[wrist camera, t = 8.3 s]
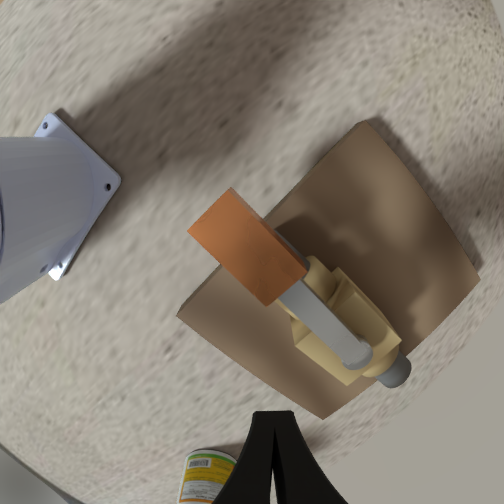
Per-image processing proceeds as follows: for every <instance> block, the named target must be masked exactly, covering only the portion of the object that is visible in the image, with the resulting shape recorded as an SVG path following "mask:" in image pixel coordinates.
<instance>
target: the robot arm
mask: <svg viewBox="0 0 504 504" xmlns="http://www.w3.org/2000/svg"><path fill="white" fill-rule="evenodd" d="M47 123H48V127H47V128H46V124H47ZM108 183H109V184H110V185H111V190H110V191H109V190H108V189H107V184H108ZM120 184H121V177H120V176H119V174H118V173H117V172H115V171H114V170H113V169H112V168H111V167H110V166H109V165H108V164H107V163H106V162H105V161H104V160H103V159H102V158H101V157H100V156H98V155H97V154H96V153H95V152H94V151H93V150H92V149H91V148H90V147H89V146H88V145H87V144H86V143H85V142H84V141H83V140H82V139H81V138H80V137H79V136H78V135H76V134H75V133H74V132H73V131H72V130H71V129H70V128H69V127H68V126H67V125H66V124H65V123H64V122H63V121H62V120H61V119H60V118H59V117H58V116H57V115H56V114H55V113H48V114H47V115H46V116H45V118H44V120H43V121H42V123H41V125H40V126H39V128H38V130H37V132H36V133H35V135H34V137H0V304H2V303H4V302H5V301H7V300H8V299H10V298H11V297H13V296H14V295H15V294H17V293H18V292H20V291H21V290H23V289H24V288H26V287H27V286H29V285H30V284H32V283H33V282H35V281H36V280H38V279H39V278H41V277H42V276H44V275H46V274H47V273H48V274H49V275H50V276H51V277H52V278H53V279H54V280H59V279H61V278H62V276H63V274H64V273H65V271H66V269H67V267H68V265H69V264H70V262H71V260H72V258H73V257H74V255H75V253H76V252H77V250H78V248H79V247H80V245H81V243H82V242H83V240H84V238H85V237H86V235H87V234H88V232H89V230H90V229H91V227H92V226H93V224H94V223H95V221H96V219H97V218H98V216H99V215H100V213H101V212H102V210H103V209H104V207H105V206H106V204H107V203H108V201H109V200H110V199H111V197H112V196H113V194H114V193H115V191H116V190H117V189H118V187H119V186H120ZM60 262H61V263H62V264H63V266H61V264H60ZM272 469H273V474H274V481H275V489H276V497H277V503H278V504H348V503H347V502H346V501H345V500H344V498H343V497H342V496H341V495H340V494H339V493H338V491H337V490H336V489H335V488H334V486H333V485H332V484H331V483H330V481H329V480H328V479H327V477H326V476H325V474H324V473H323V471H322V470H321V468H320V467H319V465H318V463H317V462H316V460H315V459H314V457H313V455H312V453H311V451H310V450H309V448H308V446H307V444H306V442H305V440H304V438H303V436H302V434H301V432H300V429H299V427H298V424H297V422H296V419H295V416H294V412H292V411H291V410H288V411H256V412H254V413H253V417H252V423H251V427H250V430H249V433H248V436H247V439H246V442H245V444H244V447H243V449H242V452H241V454H240V456H239V458H238V461H237V463H236V464H235V466H234V468H233V470H232V472H231V474H230V476H229V478H228V479H227V481H226V483H225V484H224V486H223V487H222V489H221V491H220V492H219V494H218V495H217V496H216V498H215V499H214V501H213V502H212V503H211V504H270V491H271V480H272Z"/></svg>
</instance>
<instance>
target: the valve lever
mask: <svg viewBox="0 0 504 504" xmlns="http://www.w3.org/2000/svg"><path fill="white" fill-rule="evenodd" d="M187 232H188V233H189V234H190V235H191V236H192V237H194V238H195V239H196V240H197V241H198V242H199V243H200V244H201V245H202V246H203V247H204V248H205V249H206V250H207V251H208V252H209V253H210V254H211V255H212V256H213V257H214V258H215V259H216V260H217V261H218V262H219V263H220V264H221V265H222V266H223V267H224V268H225V269H227V270H228V271H229V272H230V273H231V274H232V275H233V276H234V277H235V278H236V279H237V280H238V281H239V282H240V283H241V284H242V285H243V286H244V287H245V288H246V289H248V290H249V291H250V292H251V293H252V294H253V295H254V296H255V297H256V298H257V299H258V300H259V301H260V302H261V303H262V304H263V305H265V306H266V307H268V306H269V305H270V304H271V303H272V302H274V301H275V300H276V299H277V298H278V299H279V300H280V301H281V302H282V303H283V304H284V305H285V306H286V307H287V308H288V309H289V310H290V311H291V312H292V313H293V314H294V315H296V316H297V317H298V318H299V319H300V320H301V321H302V322H303V323H304V324H305V325H306V326H307V327H308V328H309V329H310V330H311V331H312V332H313V333H314V334H315V335H317V336H318V337H319V338H320V339H321V340H322V341H323V342H324V343H325V344H326V345H327V346H328V347H329V348H330V349H331V350H332V351H333V352H335V353H336V354H337V355H338V356H339V357H340V358H341V361H342V364H343V366H344V367H345V368H347V369H349V370H358V369H361V368H363V367H365V366H366V365H368V364H369V362H370V361H371V360H372V357H373V350H372V348H371V346H370V344H369V343H368V341H367V339H366V338H365V337H364V336H363V335H360V334H355V333H354V332H353V331H352V330H351V329H350V328H349V327H348V325H347V324H346V323H345V322H344V321H343V320H342V319H341V318H340V317H339V316H338V315H337V314H336V313H335V312H334V311H333V310H332V309H331V308H330V307H329V306H328V305H327V304H326V302H325V301H324V300H323V299H322V298H321V297H320V296H319V295H318V294H317V293H316V292H315V291H314V290H313V289H312V288H311V287H310V286H309V285H308V284H307V283H306V282H305V281H304V280H303V279H302V277H303V276H304V275H305V274H306V273H307V269H306V267H305V265H304V262H303V260H302V259H301V258H300V257H299V256H298V255H297V254H296V253H295V252H294V251H293V250H292V249H291V248H290V247H289V246H288V245H287V244H286V243H285V242H284V241H283V239H282V238H281V237H280V236H279V235H278V234H277V233H276V232H275V231H274V230H273V229H272V228H271V227H270V226H269V225H268V224H267V223H266V222H265V221H264V220H263V219H262V218H261V217H260V216H259V215H258V214H257V213H256V212H255V211H254V210H253V209H252V208H251V207H250V206H249V205H248V204H247V203H246V202H245V201H244V200H243V199H242V197H241V196H240V195H239V194H238V193H237V192H236V191H235V190H234V189H233V188H232V187H230V188H229V189H228V190H227V191H226V192H225V193H224V194H223V195H222V196H221V197H220V198H219V199H218V200H217V201H216V202H215V203H214V204H213V205H212V206H211V207H210V208H209V209H208V210H207V211H206V212H205V213H204V214H203V215H202V216H201V217H200V218H199V219H198V220H197V221H196V222H195V223H194V224H193V225H192V226H191V227H190V228H189V229H188V230H187Z"/></svg>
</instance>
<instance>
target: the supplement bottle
mask: <svg viewBox="0 0 504 504" xmlns="http://www.w3.org/2000/svg"><path fill="white" fill-rule="evenodd" d="M236 463H237V461H236V460H235V459H234V458H233V457H231V456H230V455H228V454H226V453H223V452H219V451H214V450H198V451H194V452H192V453H190V454H189V455H188V456H187V457H186V460H185V464H184V468H183V473H182V477H181V482H180V487H179V491H178V496H177V500H176V504H211V503H212V502H213V501H214V499H215V498H216V496H217V495H218V494H219V492H220V491H221V489H222V487H223V486H224V484H225V483H226V481H227V479H228V478H229V476H230V474H231V472H232V470H233V468H234V466H235V464H236Z"/></svg>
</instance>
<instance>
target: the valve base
mask: <svg viewBox="0 0 504 504" xmlns="http://www.w3.org/2000/svg"><path fill="white" fill-rule="evenodd" d="M263 220H264V221H265V222H266V223H267V224H268V225H269V226H270V227H271V228H272V229H273V230H274V231H275V232H276V233H277V234H278V235H279V236H280V237H281V238H282V239H283V241H284V242H285V243H286V244H287V245H288V246H289V247H290V248H291V249H292V250H293V251H294V252H295V253H296V254H297V255H298V256H299V257H300V258H301V259H302V260H303V262H304V265H305V267H306V269H307V273H306V274H305V275H304V276H303V277H302V279H303V280H304V281H305V282H306V283H307V284H308V285H309V286H310V287H311V288H312V289H313V290H314V291H315V292H316V293H317V294H318V295H319V296H320V297H321V298H322V299H323V300H324V301H325V302H326V304H327V305H328V306H329V307H330V308H331V309H332V310H333V311H334V312H335V313H336V314H337V315H338V316H339V317H340V318H341V319H342V320H343V321H344V322H345V323H346V324H347V325H348V327H349V328H350V329H351V330H352V331H353V332H354V333H355V334H360V335H363V336H364V337H365V338H366V339H367V341H368V343H369V344H370V346H371V348H372V350H373V357H372V360H371V361H370V362H369V364H368V365H366V366H365V367H363V368H361V369H358V370H349V369H347V368H345V367H344V366H343V364H342V361H341V358H340V357H339V356H338V355H337V354H336V353H335V352H333V351H332V350H331V349H330V348H329V347H328V346H327V345H326V344H325V343H324V342H323V341H322V340H321V339H320V338H319V337H318V336H317V335H315V334H314V333H313V332H312V331H311V330H310V329H309V328H308V327H307V326H306V325H305V324H304V323H303V322H302V321H301V320H300V319H299V318H298V317H297V316H296V315H294V314H293V313H292V312H291V311H290V310H289V309H288V308H287V307H286V306H285V305H284V304H283V303H282V302H281V301H280V300H279V299H278V298H277V299H276V300H275V301H274V302H272V303H271V304H270V305H269V306H268V307H266V306H265V305H263V304H262V303H261V302H260V301H259V300H258V299H257V298H256V297H255V296H254V295H253V294H252V293H251V292H250V291H249V290H248V289H246V288H245V287H244V286H243V285H242V284H241V283H240V282H239V281H238V280H237V279H236V278H235V277H234V276H233V275H232V274H231V273H230V272H229V271H228V270H227V269H225V268H224V267H223V266H222V265H221V264H220V265H219V266H218V267H217V268H216V269H215V270H214V271H213V272H212V273H211V274H210V275H209V277H208V278H207V279H206V280H205V281H204V282H203V283H202V284H201V285H200V286H199V287H198V288H197V289H196V290H195V291H194V292H193V294H192V295H191V296H190V297H189V298H188V299H187V300H186V301H185V302H184V303H183V304H182V305H181V307H180V309H179V311H178V313H177V315H176V316H177V317H178V318H179V319H180V320H182V321H183V322H184V323H185V324H187V325H188V326H189V327H190V328H192V329H193V330H194V331H196V332H197V333H198V334H199V335H201V336H202V337H203V338H205V339H206V340H207V341H208V342H210V343H211V344H212V345H214V346H215V347H216V348H218V349H219V350H220V351H222V352H223V353H224V354H226V355H227V356H228V357H230V358H231V359H232V360H234V361H235V362H237V363H238V364H239V365H241V366H242V367H244V368H245V369H246V370H248V371H249V372H251V373H252V374H253V375H255V376H256V377H258V378H259V379H261V380H262V381H264V382H265V383H266V384H268V385H269V386H271V387H272V388H274V389H275V390H277V391H278V392H280V393H281V394H283V395H284V396H286V397H287V398H289V399H290V400H292V401H294V402H295V403H297V404H298V405H300V406H301V407H303V408H305V409H306V410H308V411H309V412H311V413H313V414H314V415H316V416H317V417H319V418H321V419H322V420H324V419H325V418H327V417H328V416H330V415H331V414H332V413H334V412H335V411H337V410H338V409H340V408H341V407H343V406H344V405H345V404H347V403H348V402H349V401H351V400H352V399H354V398H355V397H356V396H358V395H359V394H360V393H362V392H363V391H364V390H366V389H367V388H368V387H369V386H371V385H372V384H373V383H375V382H376V381H377V380H379V381H380V382H381V383H382V384H383V385H385V386H386V387H388V388H395V387H398V386H400V385H401V384H403V383H404V382H405V381H406V380H407V378H408V377H409V375H410V372H411V363H410V361H409V360H408V359H407V358H406V356H407V355H408V354H409V353H410V352H411V351H412V350H413V349H415V348H416V347H417V346H418V345H419V344H420V343H421V342H422V341H423V340H424V339H425V338H426V337H427V336H428V335H429V334H431V333H432V332H433V331H434V330H435V329H436V328H437V327H438V326H439V325H440V324H441V323H442V322H443V321H444V320H445V319H446V318H447V317H448V316H449V314H450V313H451V312H452V311H453V310H454V309H455V308H456V307H457V306H458V305H459V304H460V303H461V302H462V301H463V299H464V298H465V297H466V296H467V295H468V294H469V293H470V292H471V290H472V289H473V288H474V287H475V286H476V285H477V284H478V282H479V281H480V280H481V279H480V277H479V276H478V274H477V272H476V270H475V268H474V267H473V265H472V263H471V261H470V260H469V258H468V256H467V254H466V253H465V251H464V249H463V248H462V246H461V244H460V243H459V241H458V240H457V238H456V236H455V235H454V233H453V232H452V230H451V229H450V227H449V226H448V224H447V223H446V221H445V219H444V218H443V217H442V215H441V214H440V212H439V211H438V209H437V208H436V206H435V205H434V204H433V202H432V201H431V199H430V198H429V197H428V195H427V194H426V192H425V191H424V190H423V188H422V187H421V186H420V184H419V183H418V182H417V180H416V179H415V178H414V177H413V175H412V174H411V173H410V171H409V170H408V169H407V168H406V166H405V165H404V164H403V163H402V161H401V160H400V159H399V158H398V157H397V155H396V154H395V153H394V152H393V151H392V149H391V148H390V147H389V146H388V145H387V144H386V142H385V141H384V140H383V139H382V138H381V137H380V136H379V135H378V133H377V132H376V131H375V130H374V129H373V128H372V127H371V126H370V125H369V124H368V122H367V121H366V120H364V121H361V122H358V123H357V124H356V125H355V126H354V127H353V128H352V129H351V130H350V131H349V132H348V133H347V134H346V135H345V136H344V137H343V138H342V139H341V140H340V141H339V142H338V143H337V144H336V145H335V146H334V147H333V148H332V149H331V150H330V151H329V152H328V153H327V154H326V155H325V156H324V157H323V158H322V159H321V160H320V161H319V162H318V163H317V164H316V165H315V166H314V167H313V168H312V169H311V170H310V171H309V172H308V173H307V174H306V175H305V176H304V177H303V178H302V179H301V181H300V182H299V183H298V184H297V185H296V186H295V187H294V188H293V189H292V190H291V191H290V192H289V193H288V194H287V195H286V196H285V197H284V198H283V199H282V200H281V201H280V202H279V203H278V204H277V205H276V206H275V207H274V208H273V209H272V210H271V212H270V213H269V214H268V215H267V216H266V217H265V218H264V219H263Z"/></svg>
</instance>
